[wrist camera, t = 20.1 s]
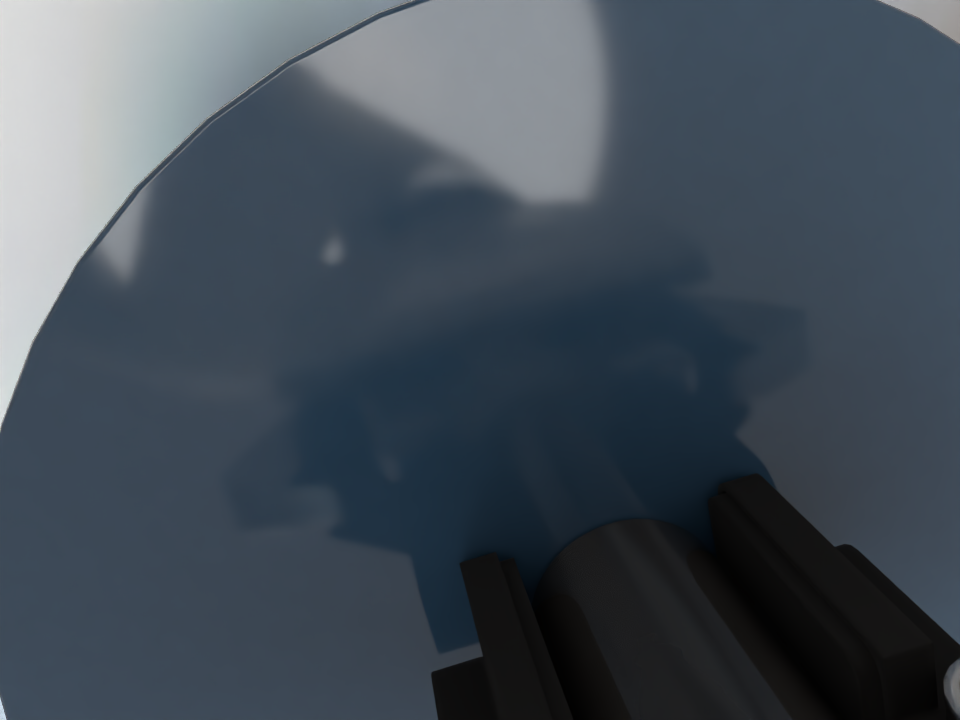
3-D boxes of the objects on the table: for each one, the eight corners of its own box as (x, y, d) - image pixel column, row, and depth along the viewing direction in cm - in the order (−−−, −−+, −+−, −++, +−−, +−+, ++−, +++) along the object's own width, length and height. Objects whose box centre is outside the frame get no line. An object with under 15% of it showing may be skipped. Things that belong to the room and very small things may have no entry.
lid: (-288, 416, 11) (-967, 811, 5) (899, -315, 11) (1591, -769, 5) (416, 1107, 17) (462, 1653, 11) (1200, 657, 16) (1675, 983, 11)
